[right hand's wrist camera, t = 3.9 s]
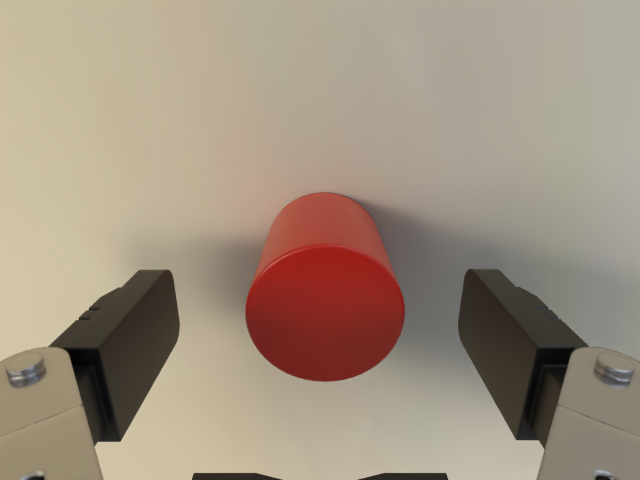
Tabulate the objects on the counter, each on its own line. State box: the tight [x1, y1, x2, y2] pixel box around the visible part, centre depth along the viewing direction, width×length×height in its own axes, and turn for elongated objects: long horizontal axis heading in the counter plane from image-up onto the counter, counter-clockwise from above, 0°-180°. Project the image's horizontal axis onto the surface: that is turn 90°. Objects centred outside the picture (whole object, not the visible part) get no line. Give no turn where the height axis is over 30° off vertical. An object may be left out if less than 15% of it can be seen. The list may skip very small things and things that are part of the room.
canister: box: [245, 193, 405, 382], centre depth 12 cm, size 4×4×5 cm
